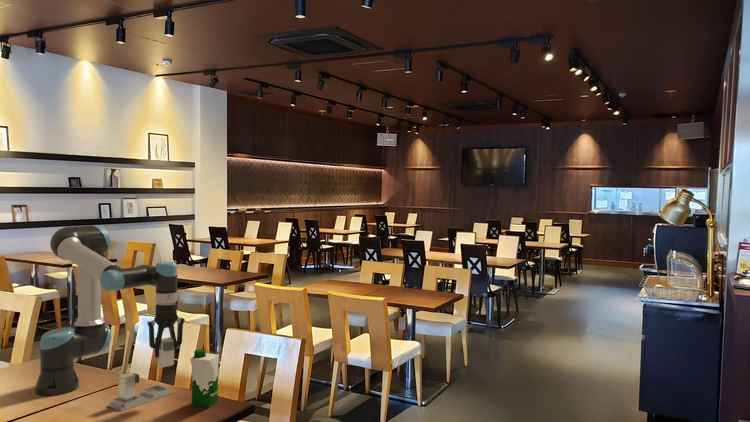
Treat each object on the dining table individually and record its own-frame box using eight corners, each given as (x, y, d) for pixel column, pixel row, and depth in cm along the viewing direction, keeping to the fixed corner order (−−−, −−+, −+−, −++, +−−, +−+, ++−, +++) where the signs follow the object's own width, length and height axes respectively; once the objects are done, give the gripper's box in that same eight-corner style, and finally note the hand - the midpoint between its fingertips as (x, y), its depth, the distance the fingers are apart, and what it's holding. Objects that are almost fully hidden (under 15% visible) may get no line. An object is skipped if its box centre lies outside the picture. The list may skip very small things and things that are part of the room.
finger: (158, 364, 211) (158, 338, 210) (169, 362, 213) (169, 337, 213) (163, 368, 206) (163, 342, 205) (174, 367, 208) (174, 340, 208)
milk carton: (199, 398, 214) (200, 347, 213) (221, 400, 212) (221, 348, 211) (187, 407, 205) (187, 353, 205) (210, 409, 203) (210, 355, 203)
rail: (107, 406, 205) (107, 376, 204) (159, 389, 223) (159, 362, 223) (120, 411, 200) (120, 381, 200) (172, 393, 219) (172, 365, 218)
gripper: (145, 307, 201) (144, 371, 202) (192, 302, 211) (191, 363, 212) (139, 303, 207) (139, 365, 208) (185, 299, 217) (184, 358, 218)
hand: (165, 364), depth 210 cm, fingers closed on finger, 4 cm apart
